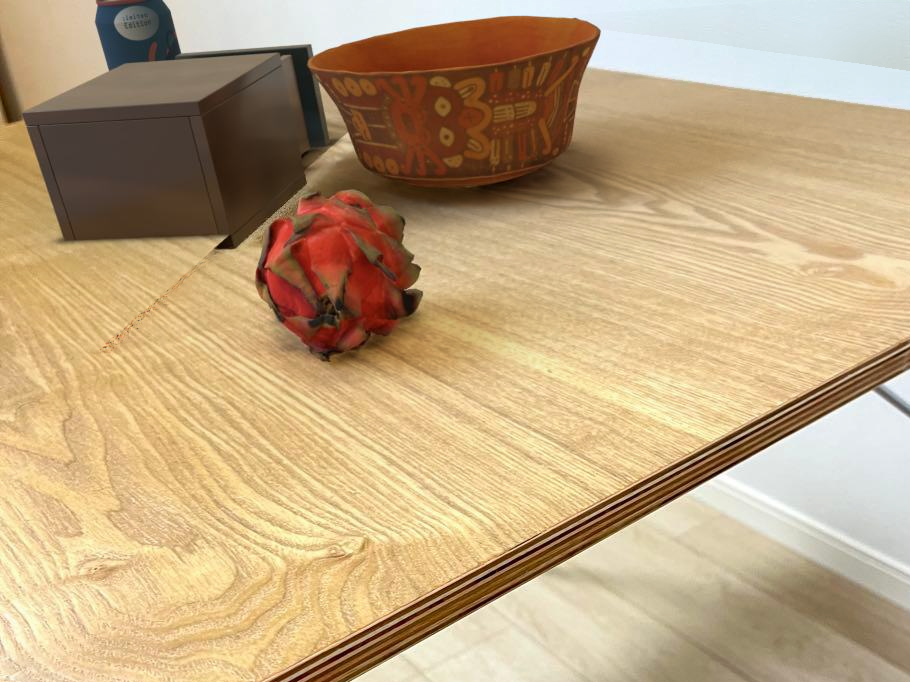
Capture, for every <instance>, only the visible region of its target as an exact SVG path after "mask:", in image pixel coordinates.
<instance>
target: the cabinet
mask: <svg viewBox="0 0 910 682" xmlns="http://www.w3.org/2000/svg"><path fill="white" fill-rule="evenodd" d="M21 116H22V118H23V121H24V125H25V126H26V131H27V133H28V136H29V139H30V142H31V145H32V149H33V151H34V154H35V157H36V160H37V164H38V166H39V169H40V172H41V175H42V177H43V178H42V179H43V181H44V184H45V187H46V190H47V193H48V196H49V199H50V202H51V205H52V208H53V211H54V214H55V218H56V221H57V223H58V226H59V229H60V232H61V236H62V238H63V240H64V242H72V241H74V242H75V241H97V240H121V239H122V240H124V239H126V240H127V239H150V238H152V239H153V238H175V237H176V238H177V237H178V238H179V237H202V236H203V237H204V236H226V237H225V238H224V239H223V240H222V241H220V242H219V243H217V245H216V246H214V247H213V250H224V249H225V250H226V249H236V248H237V246H239V245H241V243H242V242H243V241H245V240H246V239H247V238H248V237H249V236H250V235H251V234H252V233H253V232H255V231H256V229H257V228H259V227H260V226H261V225H262V224H263V223H265V222H266V221H267V220H268V219H269V218H270V217H271V216H272V215H273V214H274V213H276V211H278V210H279V209H280V208H281V207H282V206H284V204H285V203H286V202H288V201H289V200H290V199H291V198H292V197H293V196H295V194H296V193H298V191H300V190H301V189H302V188H303V187H304V186H305V185H306V184H308V183H307V178H306V173H305V168H304V163H303V159H302V155H301V153H300V148H299V143H298V139H297V134H296V129H295V124H294V119H293V114H292V110H291V105H290V100H289V95H288V90H287V86H286V81H285V76H284V71H283V66H282V62H281V58H280V53H267V54H252V55H238V56H224V57H210V58H196V59H182V60H168V61H153V62H139V63H125V64H123V65H121V66H119V67H117V68H115V69H113V70H110V71H109V70H108V71H107V72H104V73H102V74H100V75H98V76H96V77H94V78H91V79H90V80H87V81H85V82H83V83H82V84H79V85H77V86H74V87H72V88H71V89H68V90H66V91H64V92H61V93H59V94H57V95H55V96H53V97H51V98H49V99H47V100H44V101H43V102H41V103H38V104H36V105H34V106H32V107H29V108H28V109H26V110H24V111H22V112H21Z"/></svg>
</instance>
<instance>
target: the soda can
mask: <svg viewBox="0 0 910 682" xmlns="http://www.w3.org/2000/svg"><path fill="white" fill-rule="evenodd" d="M95 4H96V6H97V7H96V12H95V18H94V24H95V27H96V31H97V34H98V39H99V41H100V45H101V48H102V52H103V56H104V59H105V62H106V66H107V69H108V71H110V70H113V69H115V68H117V67H119V66H121V65H123V64H125V63H139V62H153V61H168V60H176V59H175V56H177V55H179V54H181V53H182V50H181V47H180V43H179V39H178V34H177V30H176V27H175V23H174V20H173V16H172V15H173V14H172V12H171V9H170V8H169V7H168V5H167V4H166V2H165V1H164V0H95Z"/></svg>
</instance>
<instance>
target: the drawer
mask: <svg viewBox="0 0 910 682" xmlns="http://www.w3.org/2000/svg"><path fill="white" fill-rule="evenodd" d="M267 53H280V58H281V62H282V66H283V71H284V76H285V81H286V86H287V90H288V95H289V100H290V105H291V110H292V114H293V119H294V124H295V129H296V134H297V139H298V143H299V148H300V153H301V156H302V155H304V153H306V152H307V151H308V150H309V149H310V148H316V147H317V148H319V147H320V148H321V147H327V146H328V145H329V144H330V143H331V139H330V134H329V129H328V123H327V119H326V113H325V110H324V104H323V98H322V92H321V87H320V83H319V82H318V81H317V79H316V78H315V77H314V76H313V74H312V73H311V71H310V69H309V67H308V66H307V64H308V60H309V59H310V58H312V57H313V56H314V51H313V47H312V44H311V43H306V44H292V45H279V46H265V47H252V48H251V47H250V48H236V49H224V50H223V49H222V50H208V51H195V52H181V54H179V55H177V56H175V59H176V60H182V59H196V58H210V57H224V56H238V55H252V54H267Z"/></svg>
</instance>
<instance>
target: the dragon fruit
mask: <svg viewBox="0 0 910 682" xmlns="http://www.w3.org/2000/svg"><path fill="white" fill-rule="evenodd" d="M406 225H407V223H406V219H405V217H404V216H403V215H402V214H401V213H400V211H398V210H396V209H395V208H393V207H392V206H387V205H381V204H379V203H376V202H372V200H371V198H370V197H369V196H368V195H366V193H364V192H363V191H360V190H357V189H347V190H340V191H337V192H336V193H335V194H334V195H332V196H331V197H330V198H326V197H325V196H324V195H322V192H320V191H319V190H318V191H315V192H309V193H305V194H302V195H301V196H300V197H299V199H298V206H297V209H296V215H294V214H291V215H287V216H286V217H285V218H276V219H274V220H273V221H272V222H271V223H270V224H269V226H268V228H266V230H265V232H264V234H263V238H262V240H261V253H260V257H259V260H258V262H257V267H256V269H255V278H254V279H255V280H254V283H255V288H256V291H257V293H258V297H260V299H261V300H262V301H264V303H266V304H267V305H268V307H269V310H271V309H272V312H273V313H274V316H275V317H276V318H277V320H278V322H280V323H281V324H282V325H283V326H284V327H285V328H286V329H287V330H288V331H290V332H292V333H293V334H294V335H296V336H298V337H299V339H300V341H301V342H302V344H304V345H305V346H306V347H307V348H308V349H309V354H310V355H312V356H314V357H315V358H316V359H318V360H319V361H321V362H328V363H331V360H330V359H331V357H332V356H336V355H338V356H339V355H342V354H344V352H347V351H349V350H352V349H353V348H354V349H357V348H363V347H365V346H367V344H368V343H370V342H371V338H372V335H373V334H375V335H376V336H381V337H387V336H389V335H390V334H391V333H393V332H394V331H395V330H396V329H397V327H398V326H399V324H400V323H401V322H402V320H403V319H404V318H407V317H410V316H412V315H414V313H416V311H417V310H418V308H419V306H420V303H421V301H422V299H423V298H424V297H423V296H424V291H423V290H421V289H418V288H411V287H412V286H413V285H415V284H416V283H417V281H418V280H419V278H420V275H421V270H422V267H421V266H420V265H419V264H418V263H413V262H414V260H415V254H414V253H412V252H410V251H409V250H408V248H406V247H405V245H404V244H403V241H404V237H405V233H404V231H405V227H406ZM366 331H368V332H370V333H369V334H368V333H367V332H366Z"/></svg>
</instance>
